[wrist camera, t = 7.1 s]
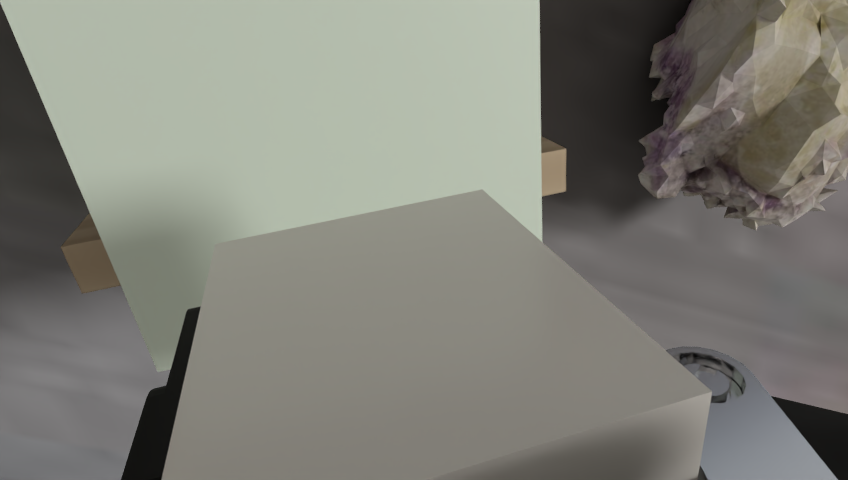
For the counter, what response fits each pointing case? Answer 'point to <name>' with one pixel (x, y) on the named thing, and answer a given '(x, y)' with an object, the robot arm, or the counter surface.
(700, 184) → the geode
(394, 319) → the cube
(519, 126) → the trapdoor
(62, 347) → the counter surface
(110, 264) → the frame
